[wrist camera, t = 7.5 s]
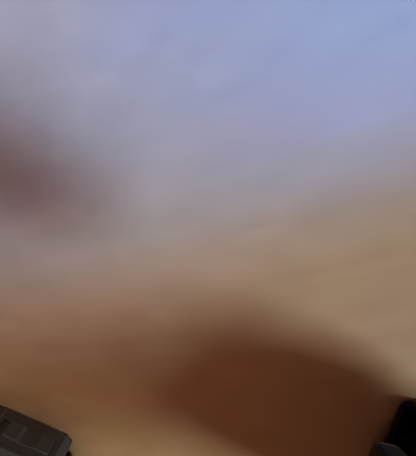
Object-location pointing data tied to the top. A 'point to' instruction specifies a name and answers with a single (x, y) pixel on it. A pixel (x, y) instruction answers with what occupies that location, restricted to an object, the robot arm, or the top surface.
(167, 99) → the top surface
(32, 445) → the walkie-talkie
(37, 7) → the top surface
